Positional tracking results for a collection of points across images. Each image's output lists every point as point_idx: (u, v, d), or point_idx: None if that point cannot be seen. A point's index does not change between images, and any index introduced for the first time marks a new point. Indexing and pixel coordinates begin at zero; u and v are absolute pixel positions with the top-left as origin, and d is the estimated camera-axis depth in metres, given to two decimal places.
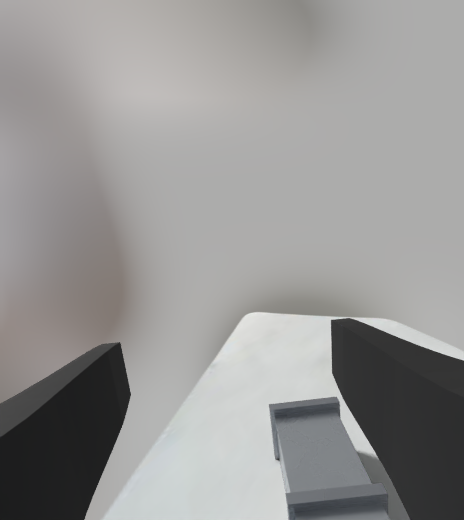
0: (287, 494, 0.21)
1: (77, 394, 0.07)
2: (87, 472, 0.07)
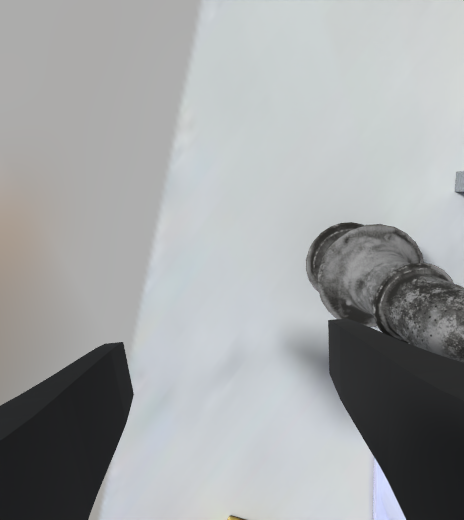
0: None
1: (81, 393, 0.07)
2: (91, 472, 0.07)
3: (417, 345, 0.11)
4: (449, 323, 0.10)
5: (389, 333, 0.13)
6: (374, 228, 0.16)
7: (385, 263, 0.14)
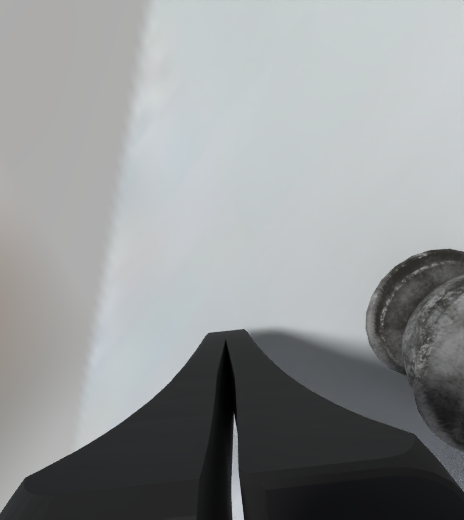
0: None
1: (221, 378, 0.07)
2: (228, 456, 0.08)
3: None
4: None
5: None
6: None
7: None
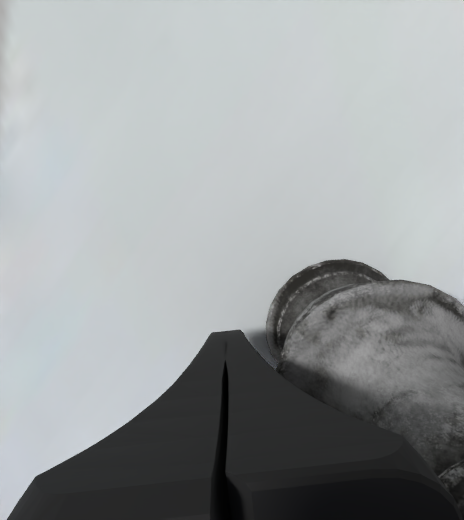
0: None
1: (226, 378, 0.07)
2: None
3: None
4: None
5: None
6: (389, 289, 0.07)
7: (420, 393, 0.06)
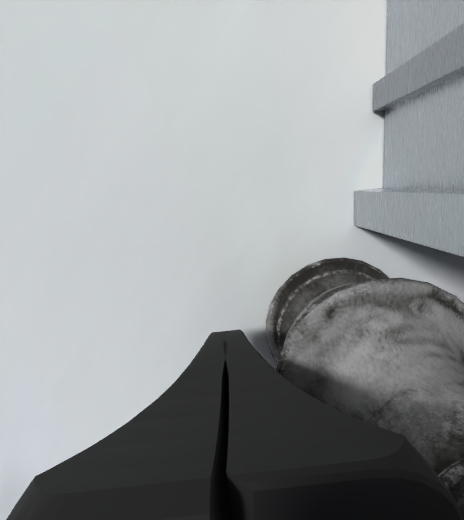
0: None
1: (225, 377, 0.07)
2: None
3: None
4: None
5: None
6: (388, 288, 0.07)
7: (419, 391, 0.06)
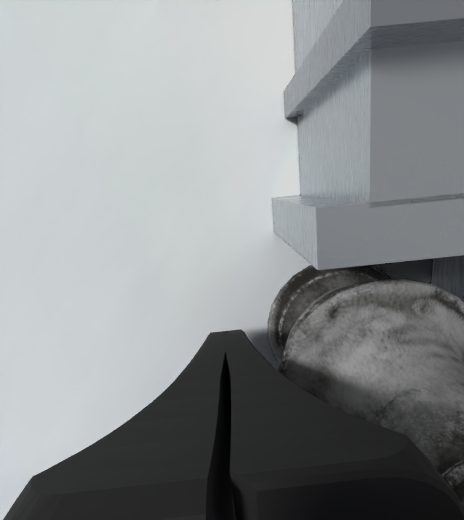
0: None
1: (224, 378, 0.07)
2: None
3: None
4: None
5: None
6: (391, 288, 0.07)
7: (423, 391, 0.06)
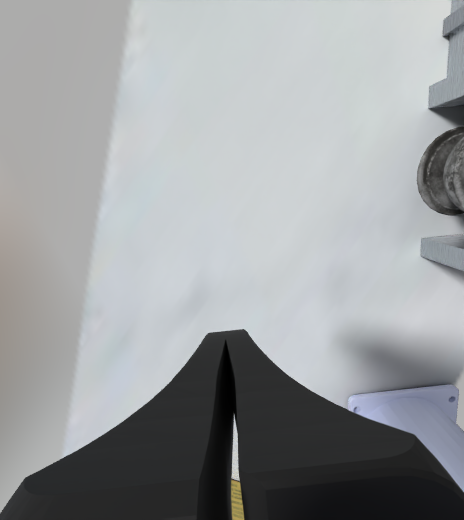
0: None
1: (221, 378, 0.07)
2: (228, 456, 0.08)
3: None
4: None
5: None
6: None
7: None
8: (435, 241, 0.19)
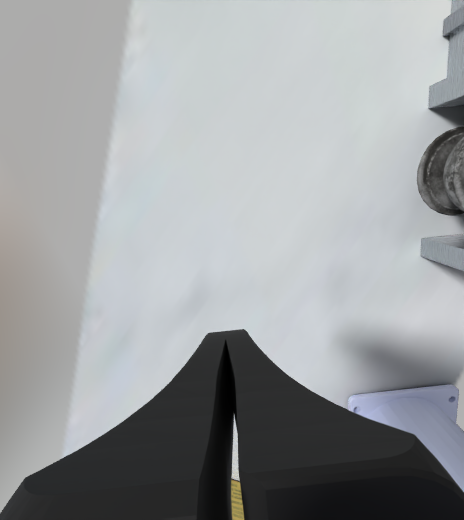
0: None
1: (221, 378, 0.07)
2: (228, 456, 0.08)
3: None
4: None
5: None
6: None
7: None
8: (435, 241, 0.19)
